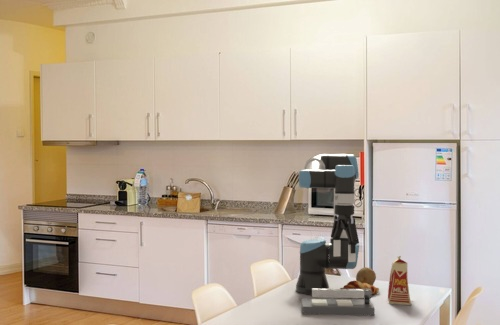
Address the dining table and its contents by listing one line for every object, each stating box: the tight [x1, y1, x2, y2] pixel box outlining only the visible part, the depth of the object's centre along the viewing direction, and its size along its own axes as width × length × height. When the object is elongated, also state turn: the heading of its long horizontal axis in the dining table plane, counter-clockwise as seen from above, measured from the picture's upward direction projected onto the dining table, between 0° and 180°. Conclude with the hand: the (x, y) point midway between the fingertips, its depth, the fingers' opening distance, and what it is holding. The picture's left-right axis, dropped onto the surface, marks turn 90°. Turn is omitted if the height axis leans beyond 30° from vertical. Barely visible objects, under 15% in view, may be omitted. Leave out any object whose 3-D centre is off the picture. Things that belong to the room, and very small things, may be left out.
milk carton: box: [387, 255, 412, 306], centre depth 240 cm, size 9×9×20 cm
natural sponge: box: [355, 267, 377, 286], centre depth 261 cm, size 9×9×10 cm
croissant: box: [339, 280, 380, 295], centre depth 250 cm, size 21×10×8 cm, turn 110°
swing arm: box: [311, 288, 373, 299], centre depth 226 cm, size 4×24×3 cm, turn 87°
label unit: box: [301, 297, 376, 316], centre depth 226 cm, size 12×28×5 cm, turn 87°
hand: (344, 259), depth 219 cm, fingers open, 13 cm apart
